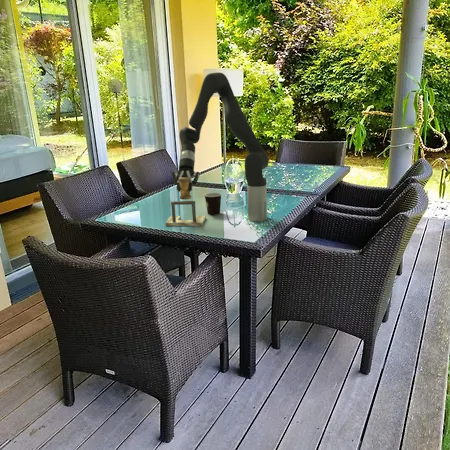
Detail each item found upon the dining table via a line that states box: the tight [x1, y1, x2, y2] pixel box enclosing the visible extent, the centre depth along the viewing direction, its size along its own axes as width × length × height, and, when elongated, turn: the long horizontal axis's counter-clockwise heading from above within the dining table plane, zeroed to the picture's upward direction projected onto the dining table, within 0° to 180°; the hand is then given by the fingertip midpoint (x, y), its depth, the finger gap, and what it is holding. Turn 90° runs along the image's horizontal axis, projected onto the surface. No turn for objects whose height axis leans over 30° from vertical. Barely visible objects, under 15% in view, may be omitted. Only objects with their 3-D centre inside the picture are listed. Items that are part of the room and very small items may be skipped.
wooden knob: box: [177, 177, 192, 200], centre depth 215 cm, size 6×6×10 cm
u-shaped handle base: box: [165, 200, 207, 227], centre depth 216 cm, size 18×11×12 cm, turn 84°
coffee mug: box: [204, 192, 222, 216], centre depth 227 cm, size 12×9×10 cm
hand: (184, 190), depth 213 cm, fingers closed on wooden knob, 4 cm apart
